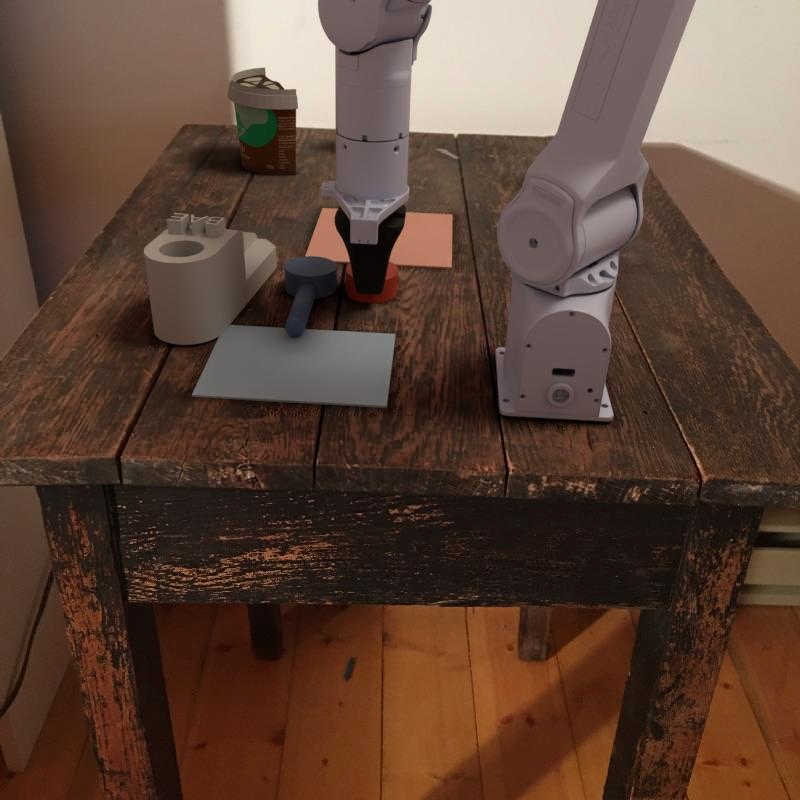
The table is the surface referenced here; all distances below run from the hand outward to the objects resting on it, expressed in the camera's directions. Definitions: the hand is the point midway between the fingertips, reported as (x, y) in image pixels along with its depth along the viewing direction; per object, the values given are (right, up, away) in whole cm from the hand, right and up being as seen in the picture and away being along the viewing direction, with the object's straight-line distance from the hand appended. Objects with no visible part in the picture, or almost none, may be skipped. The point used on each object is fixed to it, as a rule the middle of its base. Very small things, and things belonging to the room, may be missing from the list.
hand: (369, 291), depth 78 cm
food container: (-14, +19, +33) cm, 40 cm away
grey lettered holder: (-13, -1, +1) cm, 13 cm away
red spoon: (0, +3, +7) cm, 7 cm away
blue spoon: (-6, -1, 0) cm, 6 cm away
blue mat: (-5, -7, -8) cm, 12 cm away
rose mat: (+1, +7, +14) cm, 16 cm away
